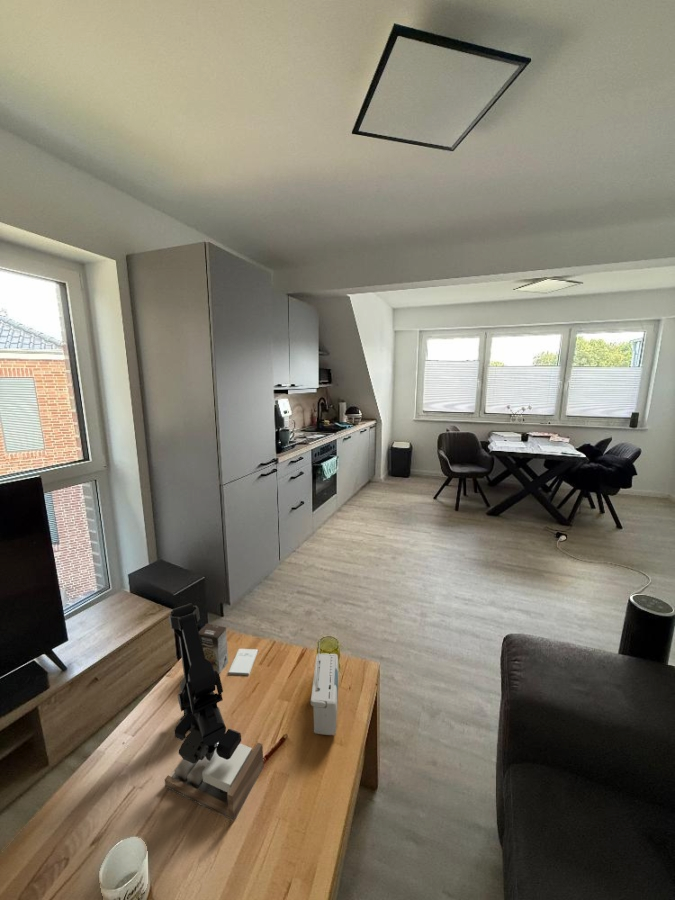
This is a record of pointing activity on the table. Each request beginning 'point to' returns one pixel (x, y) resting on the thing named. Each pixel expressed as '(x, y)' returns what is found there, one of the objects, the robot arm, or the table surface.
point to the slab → (226, 768)
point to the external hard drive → (243, 662)
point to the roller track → (194, 788)
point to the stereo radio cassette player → (325, 693)
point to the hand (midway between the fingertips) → (209, 759)
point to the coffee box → (215, 645)
